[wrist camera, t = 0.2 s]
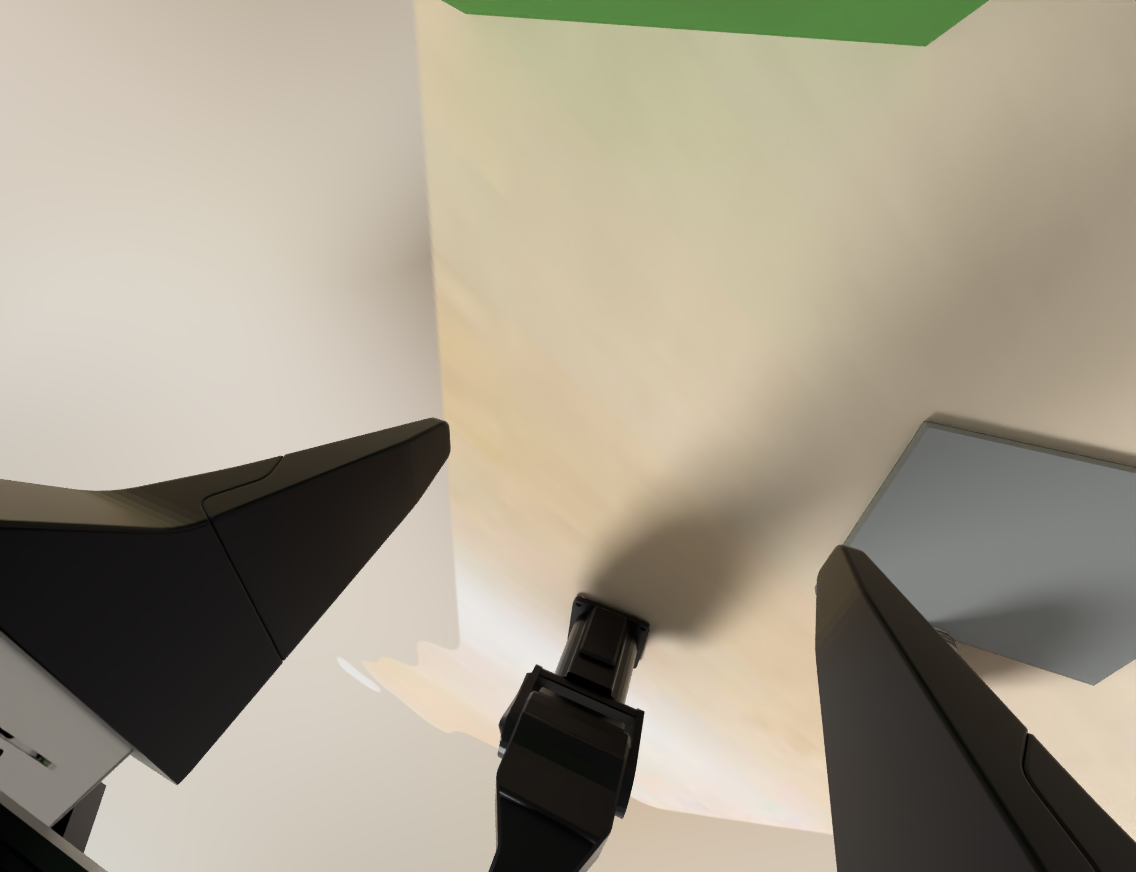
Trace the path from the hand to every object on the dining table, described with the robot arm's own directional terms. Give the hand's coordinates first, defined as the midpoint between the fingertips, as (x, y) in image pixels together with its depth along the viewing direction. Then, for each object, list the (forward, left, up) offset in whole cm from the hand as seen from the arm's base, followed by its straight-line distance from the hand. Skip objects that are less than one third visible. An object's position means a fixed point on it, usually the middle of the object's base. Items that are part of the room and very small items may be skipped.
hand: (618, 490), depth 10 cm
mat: (-9, -19, -15) cm, 25 cm away
